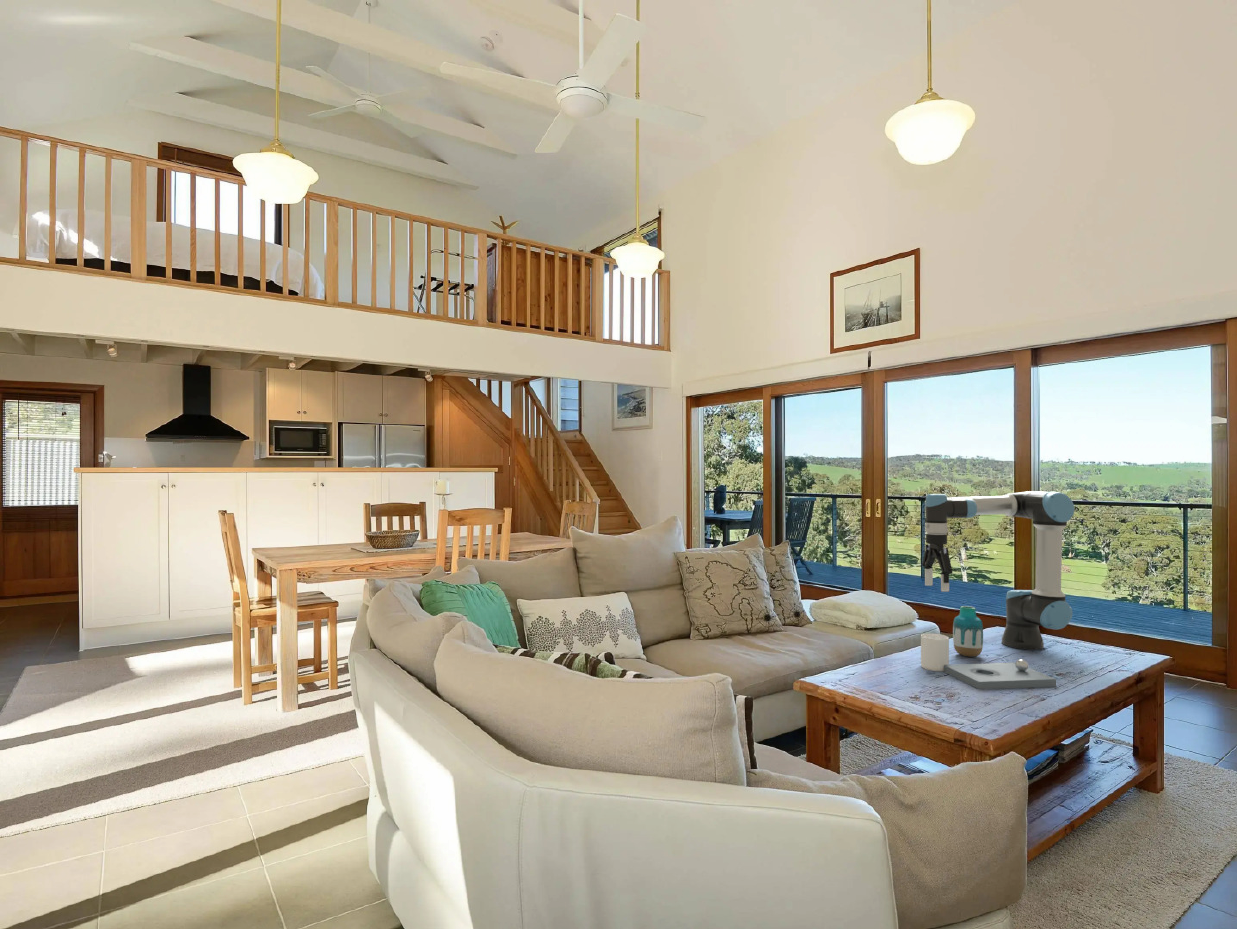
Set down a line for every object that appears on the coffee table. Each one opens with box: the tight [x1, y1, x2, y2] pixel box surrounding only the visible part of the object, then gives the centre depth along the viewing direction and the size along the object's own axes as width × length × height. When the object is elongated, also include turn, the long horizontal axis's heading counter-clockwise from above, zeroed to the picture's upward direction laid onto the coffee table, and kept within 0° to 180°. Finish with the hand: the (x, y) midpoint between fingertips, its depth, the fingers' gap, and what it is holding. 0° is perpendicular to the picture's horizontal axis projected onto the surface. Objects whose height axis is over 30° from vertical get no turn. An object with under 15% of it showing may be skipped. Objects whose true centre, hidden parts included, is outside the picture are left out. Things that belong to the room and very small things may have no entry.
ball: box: [1014, 658, 1029, 671], centre depth 240 cm, size 4×4×4 cm
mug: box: [920, 633, 950, 672], centre depth 254 cm, size 10×12×12 cm
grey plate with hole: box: [943, 662, 1057, 690], centre depth 239 cm, size 28×20×2 cm
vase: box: [952, 605, 984, 658], centre depth 269 cm, size 11×11×19 cm
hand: (936, 588), depth 266 cm, fingers open, 13 cm apart
